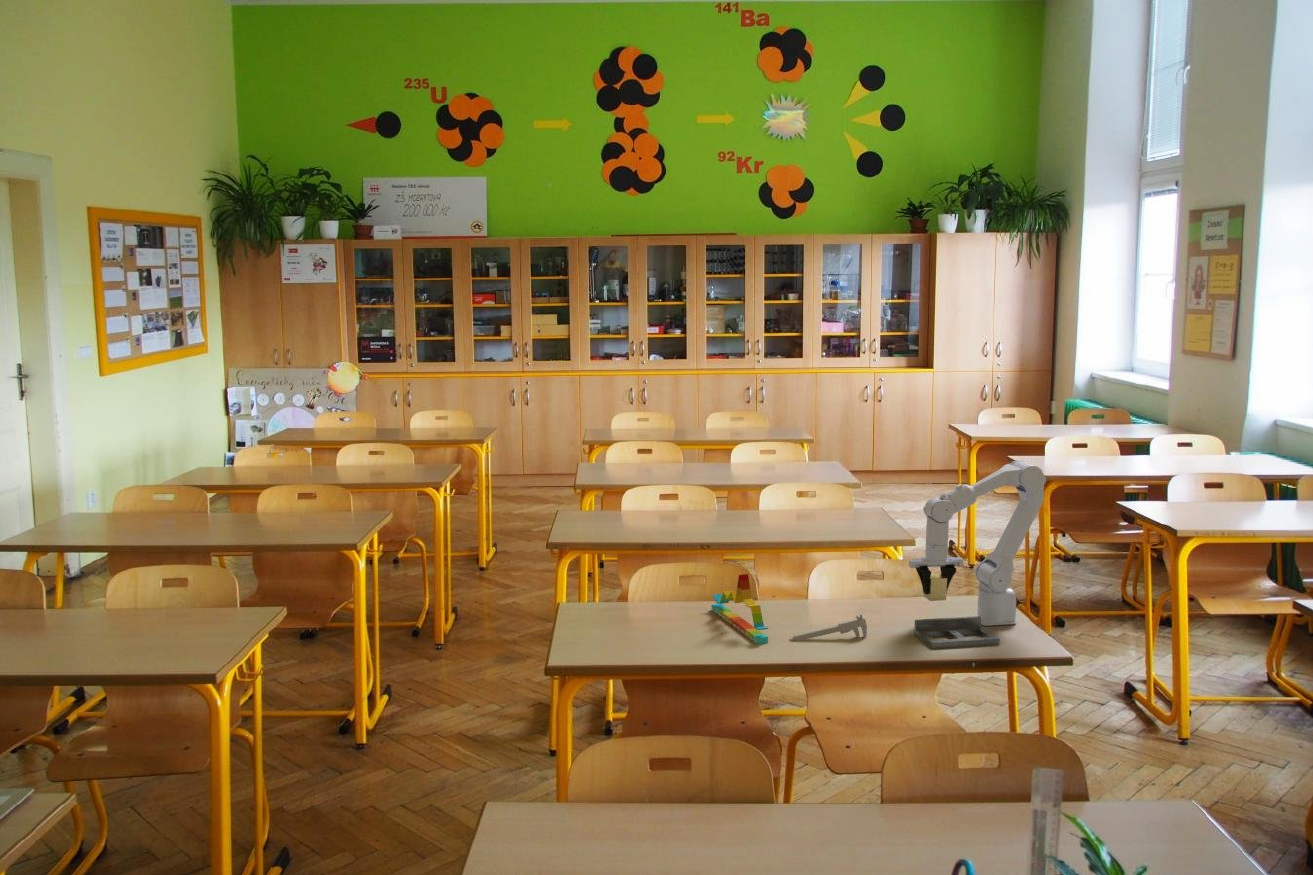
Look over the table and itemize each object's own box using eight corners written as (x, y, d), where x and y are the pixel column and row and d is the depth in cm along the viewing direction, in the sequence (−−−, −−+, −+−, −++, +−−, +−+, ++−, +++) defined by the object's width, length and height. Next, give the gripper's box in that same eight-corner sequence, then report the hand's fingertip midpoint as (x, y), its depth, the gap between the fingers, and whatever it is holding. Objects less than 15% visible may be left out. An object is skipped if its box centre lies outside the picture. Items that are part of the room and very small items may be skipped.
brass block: (938, 595, 296) (939, 573, 295) (946, 600, 291) (947, 578, 290) (923, 596, 295) (924, 574, 294) (930, 600, 290) (931, 578, 290)
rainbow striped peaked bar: (710, 611, 305) (711, 558, 303) (721, 610, 306) (721, 557, 304) (756, 645, 277) (757, 587, 275) (768, 644, 278) (769, 586, 276)
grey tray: (978, 630, 288) (979, 616, 287) (999, 644, 277) (999, 629, 277) (914, 634, 285) (914, 619, 284) (932, 648, 274) (932, 633, 273)
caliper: (867, 635, 284) (863, 613, 283) (868, 636, 283) (864, 614, 282) (791, 654, 281) (787, 632, 280) (792, 655, 280) (788, 633, 279)
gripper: (955, 538, 296) (953, 587, 298) (905, 540, 293) (903, 589, 295) (967, 544, 289) (965, 594, 291) (915, 547, 287) (913, 597, 289)
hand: (934, 592), depth 293 cm, fingers closed on brass block, 4 cm apart
